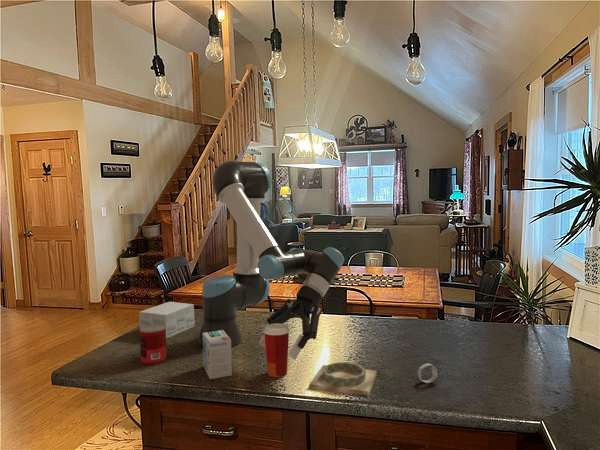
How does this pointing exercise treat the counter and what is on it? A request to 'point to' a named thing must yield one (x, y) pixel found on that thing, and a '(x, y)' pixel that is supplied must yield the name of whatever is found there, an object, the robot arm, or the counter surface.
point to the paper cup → (276, 349)
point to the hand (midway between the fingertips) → (276, 351)
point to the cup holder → (344, 378)
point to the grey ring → (432, 372)
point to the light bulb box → (217, 354)
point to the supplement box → (169, 317)
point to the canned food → (153, 343)
